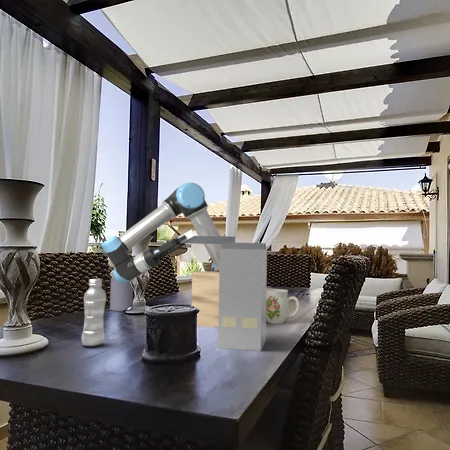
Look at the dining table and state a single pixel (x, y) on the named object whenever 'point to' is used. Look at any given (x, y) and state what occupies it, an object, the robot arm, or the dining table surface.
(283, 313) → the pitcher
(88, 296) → the plastic bottle
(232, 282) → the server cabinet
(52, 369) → the dining table surface
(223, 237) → the bar
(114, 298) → the container
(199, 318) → the oak side stand
